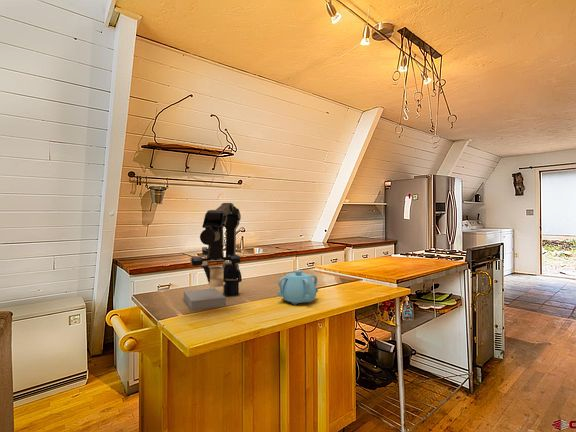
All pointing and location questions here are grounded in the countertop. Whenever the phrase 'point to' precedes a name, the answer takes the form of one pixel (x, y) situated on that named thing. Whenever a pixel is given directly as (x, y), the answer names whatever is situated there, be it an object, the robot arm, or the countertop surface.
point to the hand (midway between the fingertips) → (215, 281)
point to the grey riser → (204, 298)
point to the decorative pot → (298, 287)
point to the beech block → (216, 276)
